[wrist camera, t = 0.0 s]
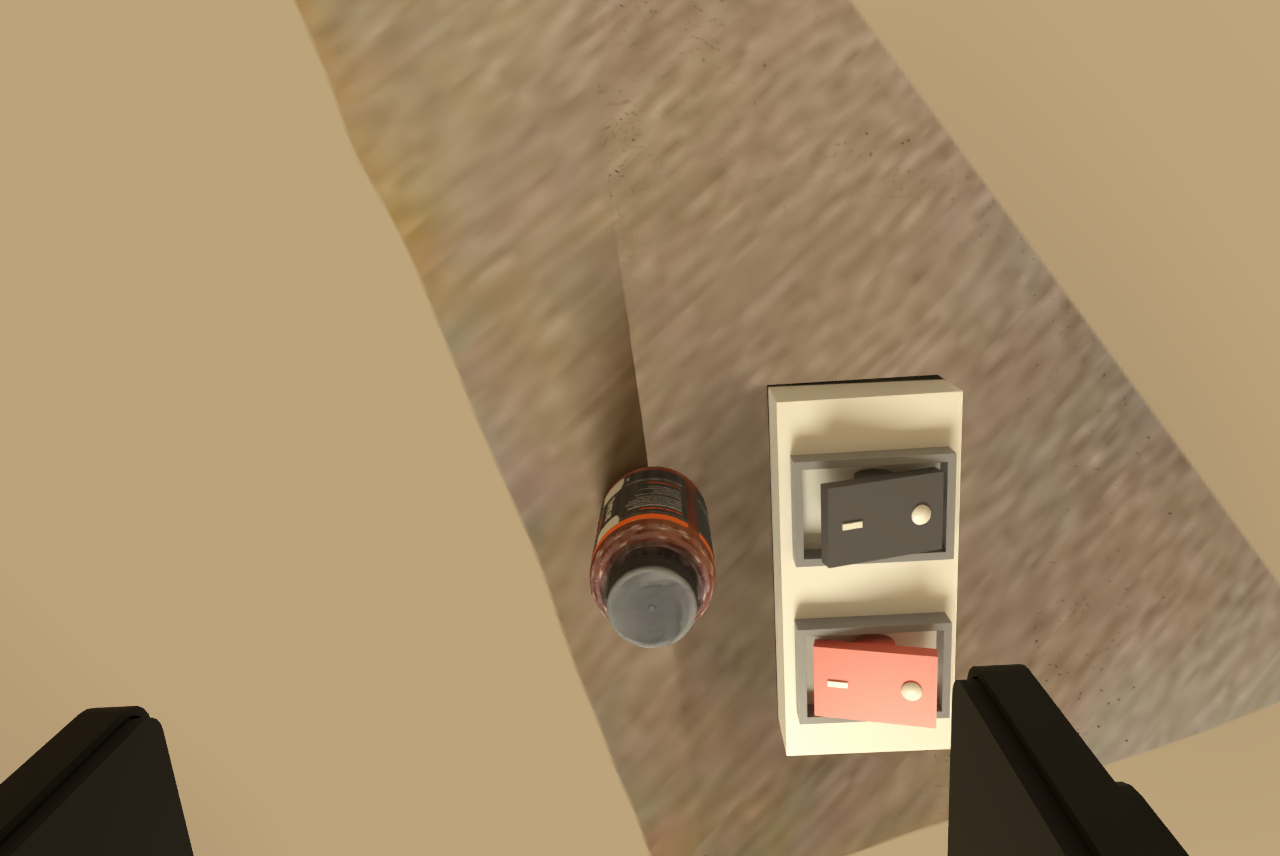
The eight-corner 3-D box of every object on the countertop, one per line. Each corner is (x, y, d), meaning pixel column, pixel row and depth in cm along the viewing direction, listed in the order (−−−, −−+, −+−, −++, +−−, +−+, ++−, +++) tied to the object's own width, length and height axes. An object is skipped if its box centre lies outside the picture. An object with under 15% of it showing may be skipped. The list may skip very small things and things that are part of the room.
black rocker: (808, 475, 42) (828, 489, 40) (920, 459, 44) (945, 472, 41) (810, 551, 43) (829, 569, 41) (919, 533, 45) (943, 549, 43)
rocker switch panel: (767, 384, 46) (779, 408, 41) (937, 374, 46) (971, 396, 41) (777, 713, 52) (789, 770, 47) (930, 706, 51) (959, 762, 46)
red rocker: (817, 627, 46) (813, 647, 44) (936, 636, 44) (937, 657, 42) (818, 693, 47) (814, 716, 45) (935, 704, 45) (936, 729, 43)
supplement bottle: (583, 487, 48) (559, 573, 37) (682, 446, 47) (688, 522, 37) (626, 578, 50) (616, 687, 39) (723, 540, 49) (741, 640, 38)
